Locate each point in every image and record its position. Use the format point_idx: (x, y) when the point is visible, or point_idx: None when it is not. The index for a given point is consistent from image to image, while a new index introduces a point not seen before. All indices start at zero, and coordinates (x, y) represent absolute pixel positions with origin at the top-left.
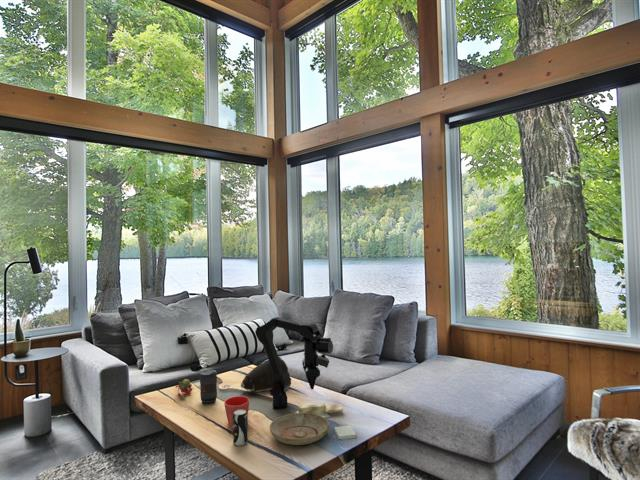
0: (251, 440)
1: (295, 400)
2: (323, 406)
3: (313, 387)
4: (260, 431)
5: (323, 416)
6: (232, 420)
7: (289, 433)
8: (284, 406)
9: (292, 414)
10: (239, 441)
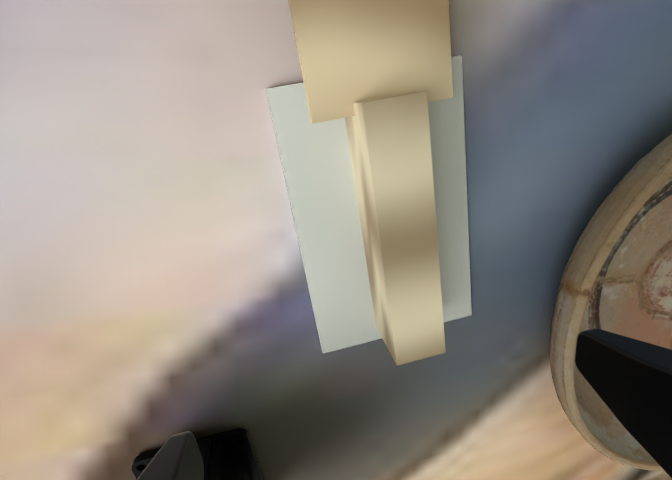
0: (625, 477)
1: (54, 397)
2: (426, 120)
3: (633, 346)
4: (552, 470)
5: (449, 119)
6: None
7: (650, 334)
8: (233, 449)
9: (572, 381)
10: None
